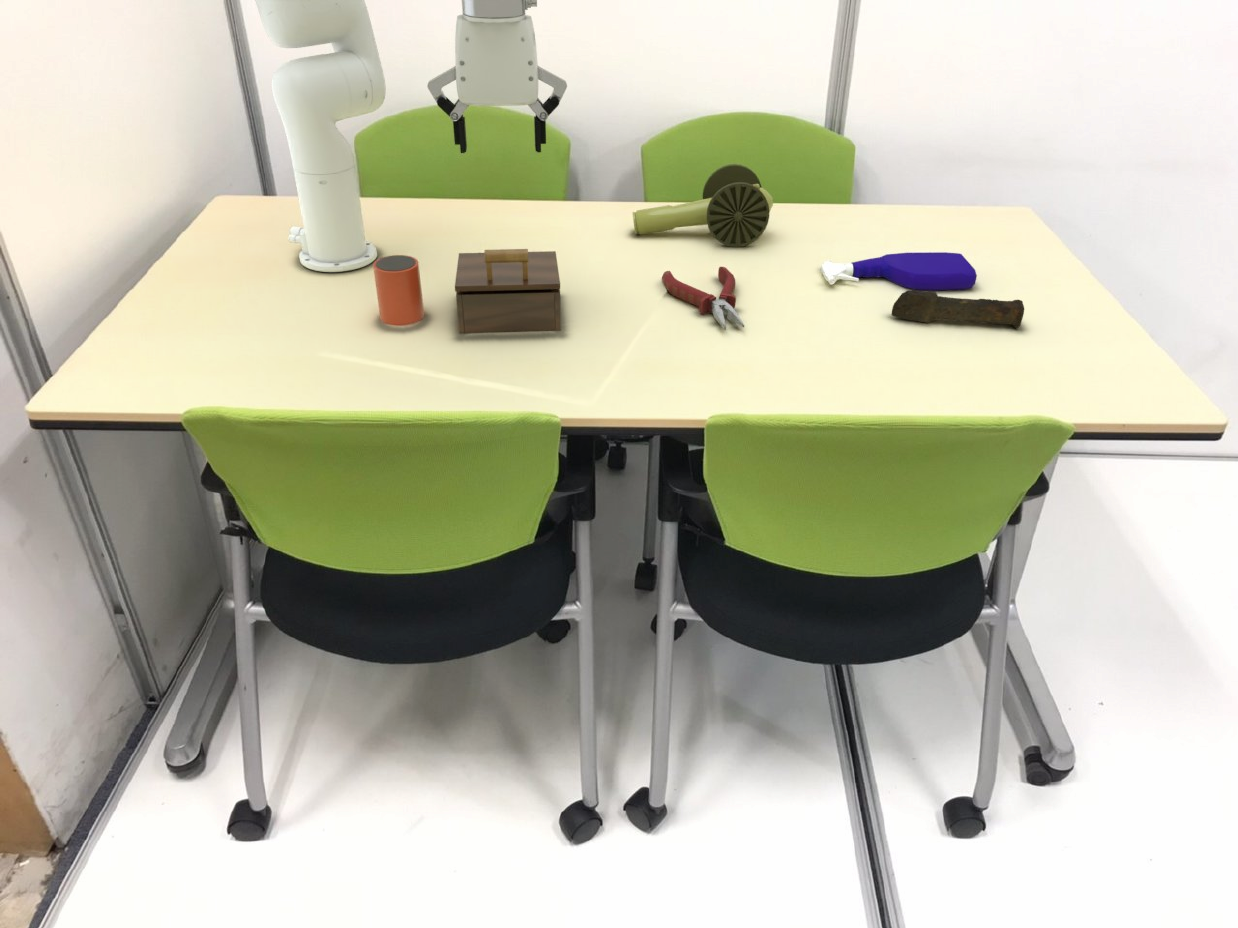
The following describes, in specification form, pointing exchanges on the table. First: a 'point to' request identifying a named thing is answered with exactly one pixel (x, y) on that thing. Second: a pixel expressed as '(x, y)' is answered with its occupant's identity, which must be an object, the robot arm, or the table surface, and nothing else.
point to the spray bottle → (909, 270)
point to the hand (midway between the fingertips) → (501, 150)
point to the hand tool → (956, 309)
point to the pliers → (708, 296)
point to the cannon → (717, 209)
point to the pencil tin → (398, 290)
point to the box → (508, 311)
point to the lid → (507, 270)
